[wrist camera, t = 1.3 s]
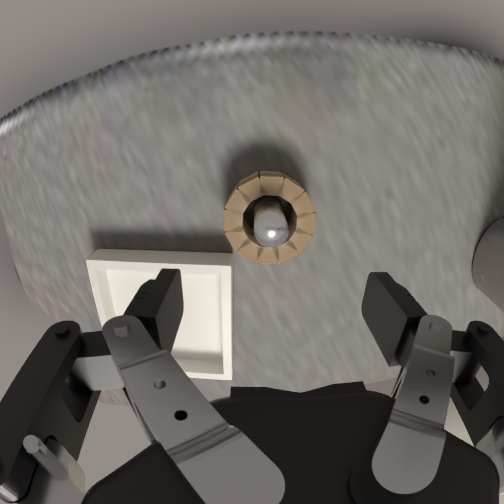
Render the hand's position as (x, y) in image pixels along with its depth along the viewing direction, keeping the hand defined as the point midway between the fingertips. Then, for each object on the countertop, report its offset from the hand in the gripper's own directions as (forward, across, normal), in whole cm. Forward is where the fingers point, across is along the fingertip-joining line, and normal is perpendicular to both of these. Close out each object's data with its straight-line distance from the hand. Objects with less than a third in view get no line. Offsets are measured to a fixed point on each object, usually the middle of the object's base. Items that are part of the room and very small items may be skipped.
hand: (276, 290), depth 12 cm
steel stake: (+12, 0, 0) cm, 12 cm away
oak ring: (+12, 0, 0) cm, 12 cm away
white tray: (+12, +9, +10) cm, 18 cm away
